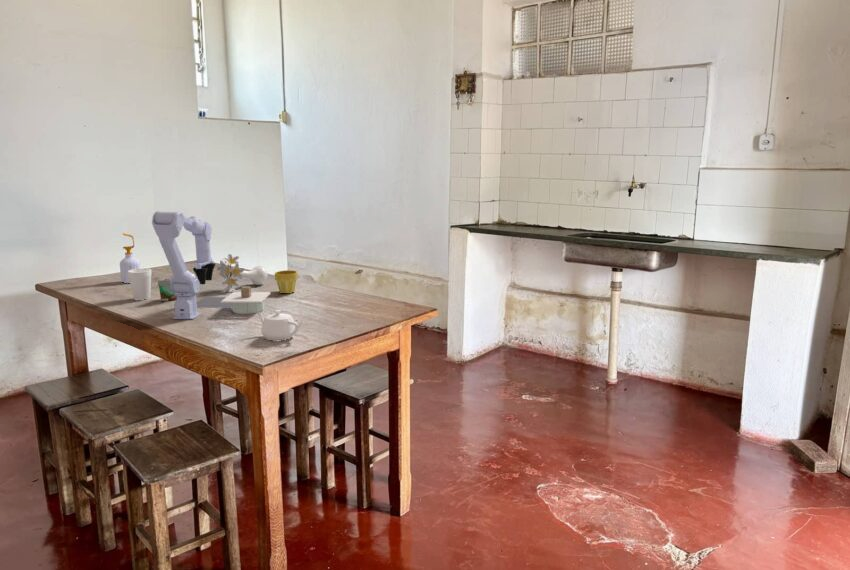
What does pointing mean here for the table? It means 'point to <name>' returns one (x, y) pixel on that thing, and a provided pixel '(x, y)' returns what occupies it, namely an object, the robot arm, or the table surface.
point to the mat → (213, 302)
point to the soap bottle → (128, 263)
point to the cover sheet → (245, 300)
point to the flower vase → (240, 273)
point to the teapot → (278, 326)
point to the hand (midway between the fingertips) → (205, 282)
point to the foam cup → (140, 283)
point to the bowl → (247, 307)
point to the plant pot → (286, 280)
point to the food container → (166, 291)
